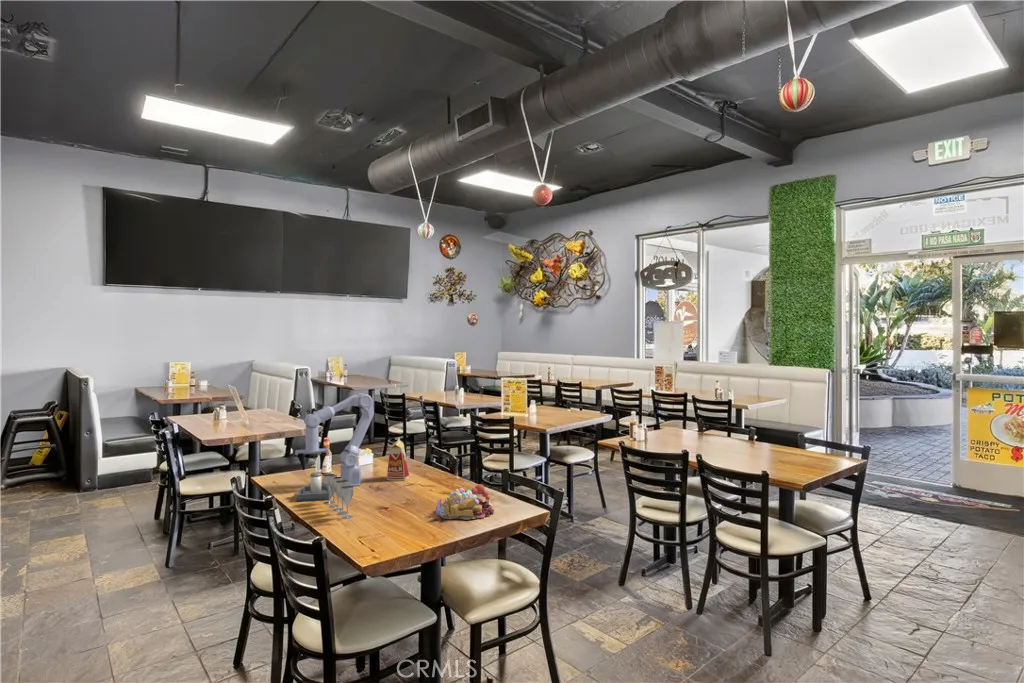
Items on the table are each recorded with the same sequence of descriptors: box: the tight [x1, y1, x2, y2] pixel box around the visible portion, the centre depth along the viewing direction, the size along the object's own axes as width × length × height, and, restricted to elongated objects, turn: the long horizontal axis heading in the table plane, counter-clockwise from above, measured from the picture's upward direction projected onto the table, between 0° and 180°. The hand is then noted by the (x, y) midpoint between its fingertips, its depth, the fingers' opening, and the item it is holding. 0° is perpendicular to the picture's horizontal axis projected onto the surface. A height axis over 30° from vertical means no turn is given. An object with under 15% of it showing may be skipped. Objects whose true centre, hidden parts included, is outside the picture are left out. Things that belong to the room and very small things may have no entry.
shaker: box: [309, 471, 322, 493], centre depth 242 cm, size 5×5×9 cm
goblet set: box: [321, 473, 354, 520], centre depth 224 cm, size 28×6×13 cm, turn 36°
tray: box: [295, 484, 333, 503], centre depth 242 cm, size 14×14×3 cm
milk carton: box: [386, 437, 410, 482], centre depth 271 cm, size 9×9×20 cm
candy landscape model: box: [435, 483, 495, 520], centre depth 221 cm, size 25×24×9 cm
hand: (312, 469), depth 253 cm, fingers open, 7 cm apart
